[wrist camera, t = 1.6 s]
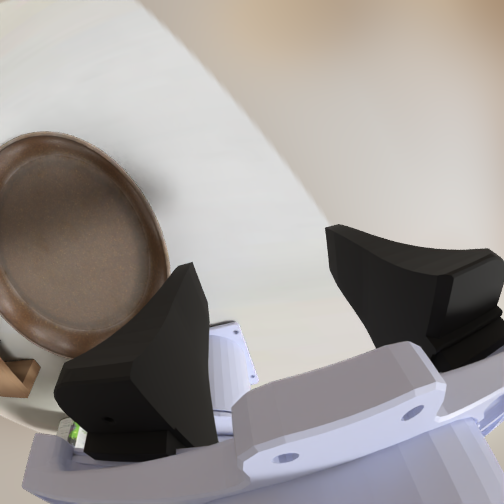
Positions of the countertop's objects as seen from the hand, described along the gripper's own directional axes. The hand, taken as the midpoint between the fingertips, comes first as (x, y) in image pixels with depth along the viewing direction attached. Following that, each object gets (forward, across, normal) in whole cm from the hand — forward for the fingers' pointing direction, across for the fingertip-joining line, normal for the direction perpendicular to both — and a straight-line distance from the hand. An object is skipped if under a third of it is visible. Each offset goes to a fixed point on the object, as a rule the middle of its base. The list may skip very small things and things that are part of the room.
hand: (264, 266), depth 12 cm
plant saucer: (+11, +16, 0) cm, 19 cm away
